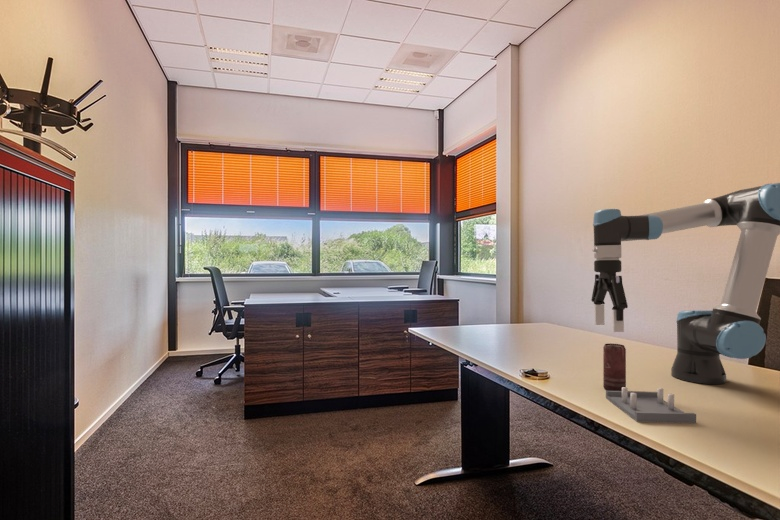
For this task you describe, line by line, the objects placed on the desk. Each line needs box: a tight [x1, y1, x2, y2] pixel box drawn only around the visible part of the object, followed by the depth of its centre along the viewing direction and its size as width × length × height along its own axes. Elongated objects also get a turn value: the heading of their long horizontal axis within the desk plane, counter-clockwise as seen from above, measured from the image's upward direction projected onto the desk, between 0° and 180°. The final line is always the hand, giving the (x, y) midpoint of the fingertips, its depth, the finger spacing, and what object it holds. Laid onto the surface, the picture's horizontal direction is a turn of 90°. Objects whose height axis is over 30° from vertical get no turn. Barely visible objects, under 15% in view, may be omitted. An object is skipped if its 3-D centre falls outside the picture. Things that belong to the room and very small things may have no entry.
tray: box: [605, 387, 697, 424], centre depth 113 cm, size 14×18×5 cm
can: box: [602, 343, 627, 392], centre depth 130 cm, size 6×6×14 cm
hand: (608, 328), depth 131 cm, fingers open, 13 cm apart
